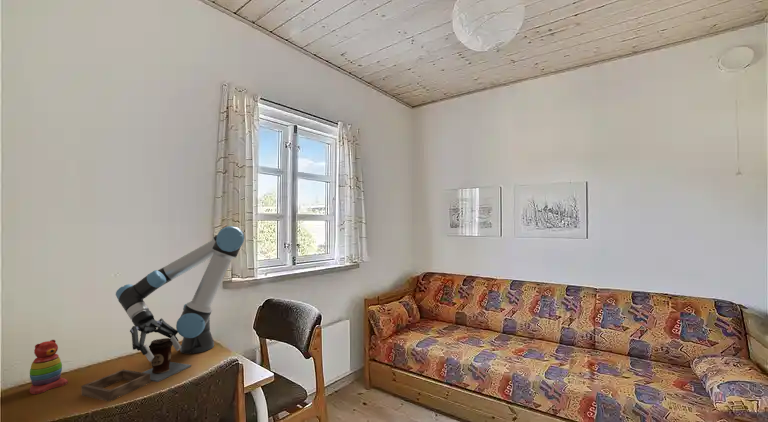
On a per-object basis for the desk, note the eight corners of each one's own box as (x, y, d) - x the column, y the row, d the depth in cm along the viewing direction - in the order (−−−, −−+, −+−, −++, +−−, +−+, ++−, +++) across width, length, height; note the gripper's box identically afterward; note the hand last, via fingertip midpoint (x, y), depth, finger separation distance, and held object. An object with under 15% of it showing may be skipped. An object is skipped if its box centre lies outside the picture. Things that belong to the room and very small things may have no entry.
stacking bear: (34, 395, 136) (34, 348, 136) (22, 390, 141) (22, 344, 141) (69, 383, 146) (69, 339, 146) (57, 379, 150) (57, 336, 151)
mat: (168, 362, 164) (168, 361, 164) (191, 366, 159) (191, 364, 159) (133, 377, 149) (133, 376, 149) (157, 382, 144) (157, 380, 144)
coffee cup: (160, 376, 148) (160, 344, 149) (143, 374, 150) (143, 343, 150) (177, 367, 157) (176, 337, 157) (160, 366, 159) (160, 336, 159)
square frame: (123, 377, 149) (123, 369, 149) (150, 382, 144) (150, 373, 144) (81, 395, 135) (81, 386, 135) (109, 401, 130) (109, 391, 130)
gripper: (161, 314, 171) (186, 350, 165) (107, 328, 148) (133, 370, 143) (169, 303, 170) (194, 339, 164) (116, 316, 147) (142, 358, 141)
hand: (166, 354), depth 153 cm, fingers open, 12 cm apart
